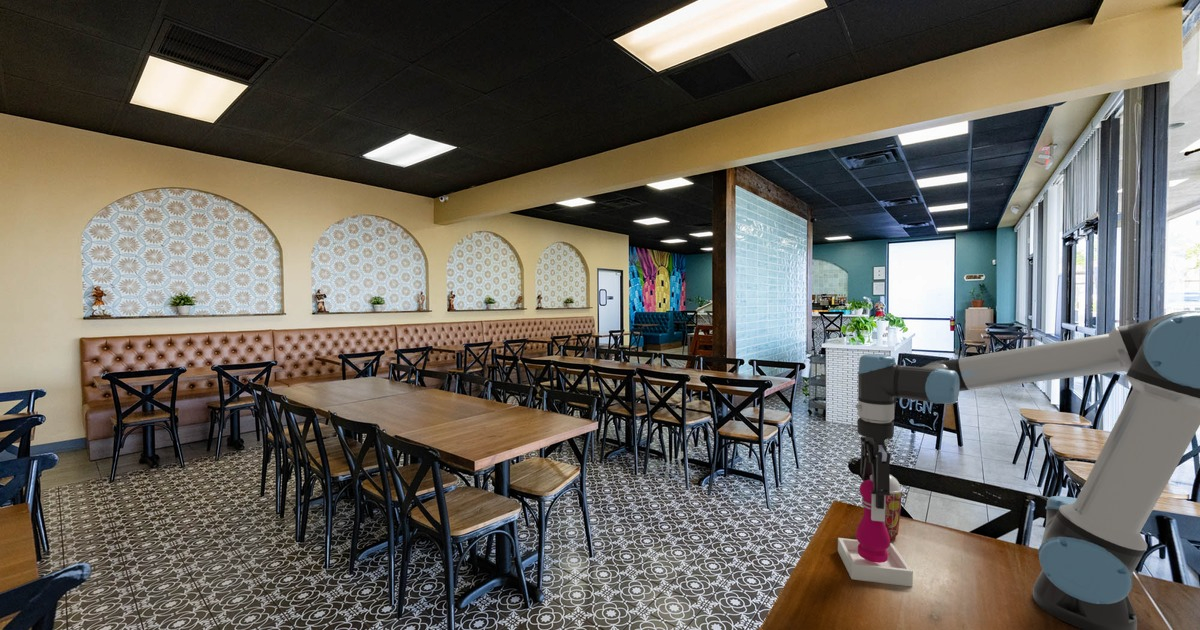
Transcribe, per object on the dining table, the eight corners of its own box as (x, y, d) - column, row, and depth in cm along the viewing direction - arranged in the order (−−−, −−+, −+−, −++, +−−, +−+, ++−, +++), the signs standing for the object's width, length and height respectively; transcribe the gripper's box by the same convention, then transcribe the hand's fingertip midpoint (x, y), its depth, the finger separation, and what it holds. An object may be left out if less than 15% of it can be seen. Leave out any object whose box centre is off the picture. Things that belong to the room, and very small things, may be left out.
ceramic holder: (892, 557, 120) (892, 543, 120) (912, 586, 108) (912, 571, 107) (837, 551, 123) (838, 537, 123) (851, 579, 110) (851, 564, 110)
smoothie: (859, 529, 134) (860, 459, 133) (885, 526, 136) (886, 457, 135) (881, 544, 126) (883, 470, 125) (909, 541, 127) (910, 467, 127)
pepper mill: (895, 565, 111) (896, 481, 110) (861, 562, 112) (862, 478, 112) (883, 549, 118) (884, 470, 117) (851, 546, 119) (852, 468, 119)
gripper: (847, 409, 124) (845, 496, 125) (870, 428, 105) (868, 531, 106) (879, 410, 122) (877, 499, 123) (908, 431, 104) (906, 534, 105)
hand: (873, 513), depth 115 cm, fingers closed on pepper mill, 6 cm apart
